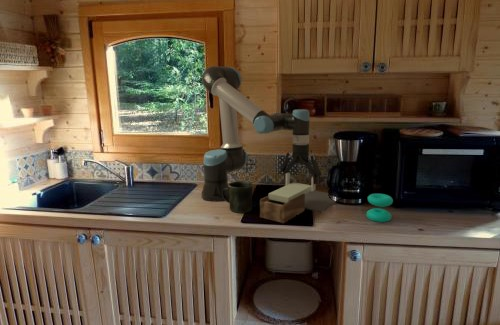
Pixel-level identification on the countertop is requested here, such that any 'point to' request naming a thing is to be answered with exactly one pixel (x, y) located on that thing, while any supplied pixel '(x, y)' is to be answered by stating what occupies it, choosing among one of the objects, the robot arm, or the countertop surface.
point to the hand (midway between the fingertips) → (300, 188)
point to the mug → (239, 196)
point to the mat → (317, 201)
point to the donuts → (377, 213)
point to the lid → (289, 192)
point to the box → (281, 208)
